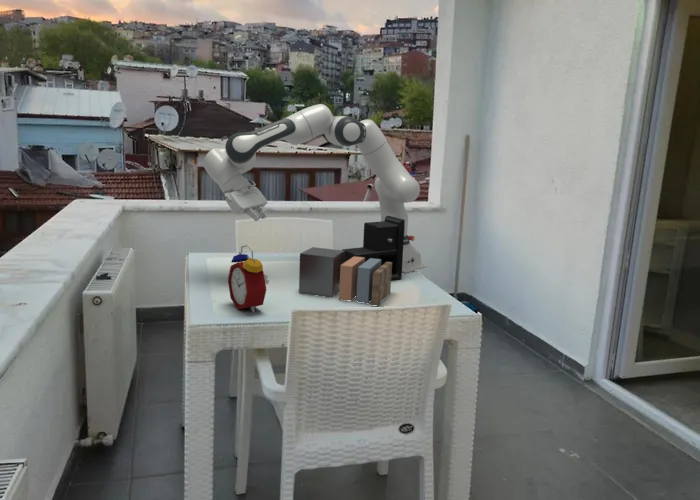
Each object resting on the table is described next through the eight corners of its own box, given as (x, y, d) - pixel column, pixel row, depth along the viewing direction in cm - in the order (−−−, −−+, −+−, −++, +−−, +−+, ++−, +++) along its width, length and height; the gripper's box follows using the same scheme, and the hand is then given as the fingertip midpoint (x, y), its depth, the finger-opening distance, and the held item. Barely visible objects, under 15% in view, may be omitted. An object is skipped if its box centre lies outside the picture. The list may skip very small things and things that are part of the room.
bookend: (350, 286, 205) (354, 222, 200) (335, 279, 214) (338, 217, 209) (402, 280, 217) (406, 219, 213) (385, 273, 226) (389, 215, 221)
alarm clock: (227, 303, 179) (227, 241, 175) (252, 299, 184) (252, 239, 180) (247, 316, 167) (247, 250, 163) (273, 312, 172) (274, 248, 168)
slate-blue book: (368, 291, 200) (370, 258, 198) (379, 292, 199) (381, 259, 196) (356, 302, 186) (358, 267, 184) (368, 304, 185) (369, 268, 182)
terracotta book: (352, 289, 202) (354, 256, 199) (363, 290, 201) (364, 257, 198) (339, 300, 188) (340, 265, 185) (350, 302, 187) (352, 266, 184)
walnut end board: (384, 291, 200) (386, 261, 198) (390, 292, 199) (392, 262, 197) (371, 305, 183) (373, 273, 181) (377, 306, 182) (379, 273, 180)
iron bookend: (311, 284, 205) (312, 247, 202) (343, 289, 201) (344, 250, 198) (298, 293, 193) (299, 253, 190) (331, 298, 190) (333, 257, 187)
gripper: (227, 185, 189) (253, 216, 188) (255, 181, 208) (279, 209, 207) (215, 197, 191) (241, 228, 190) (244, 192, 210) (268, 220, 210)
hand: (261, 218), depth 199 cm, fingers open, 4 cm apart
